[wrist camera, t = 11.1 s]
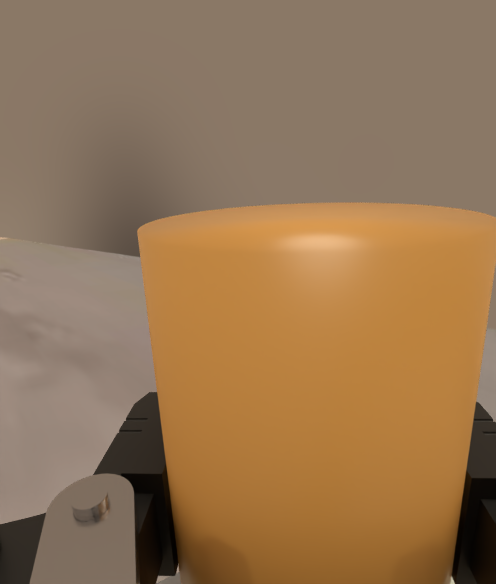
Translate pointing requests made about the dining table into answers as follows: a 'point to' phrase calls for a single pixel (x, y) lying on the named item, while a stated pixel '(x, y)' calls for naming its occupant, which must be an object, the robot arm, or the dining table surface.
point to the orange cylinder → (317, 386)
